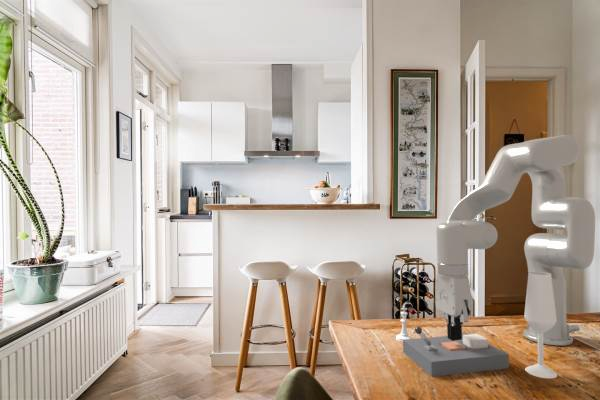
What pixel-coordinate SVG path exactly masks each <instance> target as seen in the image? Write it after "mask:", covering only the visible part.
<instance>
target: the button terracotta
mask: <svg viewBox="0 0 600 400" xmlns="http://www.w3.org/2000/svg"><path fill="white" fill-rule="evenodd" d="M441 346H443V347H444V348H446V349H447V350H449V351H458V350H466V347H464V346H462V345H461V344H459V343H458V342H456V341H455V342H443V343H441Z"/></svg>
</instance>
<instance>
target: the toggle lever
mask: <svg viewBox="0 0 600 400" xmlns="http://www.w3.org/2000/svg"><path fill="white" fill-rule="evenodd" d="M414 331H415V334H417V335H418V336H419V337H420V338H422V339H423V341H424V342H425V343H426V344H427V346H431V342H430V341H429V339H428V338H429V337H427V336H426V334H425V333H424V332H423V330H422V327H420V326H416V327H415V328H414Z"/></svg>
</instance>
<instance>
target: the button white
mask: <svg viewBox="0 0 600 400" xmlns="http://www.w3.org/2000/svg"><path fill="white" fill-rule="evenodd" d="M462 335H463V344H465V345H466V346H468V347H470V348H472V349H479V348H488V343H489V339H488V338H486V337H484V336H483V335H480V334H479V333H468V335H465V334H462Z"/></svg>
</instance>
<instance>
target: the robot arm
mask: <svg viewBox="0 0 600 400" xmlns="http://www.w3.org/2000/svg"><path fill="white" fill-rule="evenodd" d="M580 154H581V145H580V142H579V141H578V139H577V138H576V137H574V136H572V135H570V134H561V135H556V136H548V137H540V138H535V139H531V140H530V139H529V140H526V141H523V142H518V143H517V142H516V143H512V144H506V145H504V146H502V147H501V148H500V149H499V150H498V151H497V153H496V155H495V157H494V159H493V160H492V162H491V164H490V166H489V169H488V170H487V172H486V174H485V176H484V177H483V179H482V181H481V183H480V184H479V185H478V186H477V187H476V188H475V189H473V190H471V192H469V193H468V194H467V195H466V196H464V197H463V198H461V200H460V201H458V203H456V205H455V206H454V208H452V211H451V212H450V214H449V216H448V218H447V220H446V222H442V223H439V224H437V226H436V254H437V255H436V259H437V273H436V277H435V278H436V280H435V293H434V294H435V297H434V298H435V299H434V303H435V307H436V308H437V310H439V311H441V312H442V313H443V314H444V316H445V322H446V324H447V325H446V327H447V329H446V331H447V336H448V339H450V340H452V341H455V340H461V339H462V335H463V330H462V329H463V327H462V326H464V323H469V321H470V320H469V316H471V314H472V308H473V307H472V306H473V305H472V304H473V303H472V293H471V285H470V280H469V255H468V254H469V253H468V251H469V250H471V249H472V250H486V249H490V248H492V247H493V246H494V245H495V244H496V242H497V240H498V238H499V237H498V236H499V235H498V231H497V228H496V227H495V226H494V225H493V224H492V223H489V222H488V221H483V220H475V218H476V217H477V216H479V214H481V213H483V212H485V211H487V210H489V209H493V208H494V207H497V206H499V205H501V204H504V203H507V202H508V201H509V200H510V199H511V198H512V197H513V194H514V193H515V190H516V189H517V186H518V184H519V183H520V181H521V178H522V177H523V175H524V174H528V176H529V177H530V180H531V186H532V191H531V192H532V193H531V194H532V196H531V221H532V223H533V224H534V225H535V226H536V227H538V228H541V229H548V230H560V231H561V230H563V231H567V233H566V234H560V233H550V232H548V233H547V232H543V233H542V232H538V233H534V234H532V235H531V234H530V235H529V236H528V237H527V238H526V239H525V242H524V245H523V250H524V256H525V259H526V265H527V272H545V273H550V274H551V277H552V285H553V293H554V302H555V310H556V318H557V322H556V324H555V325H554V326H553V327H552V328H551V329H549V330H548V331H547V332H544V333H543V345H550V346H569V345H572V344H573V342H574V338H573V337H572V335H570V334H571V333H572V332H573V333H574V332H579V331H580V330H581V329H580V326H579V325H578V324H571V325H570V324H568V323H567V282H566V277H565V276H564V273H563V272H562V270H561V268H563V269H568V270H569V269H570V270H575V271H576V270H577V271H578V270H579V271H581V270H586V269H588V268H589V267H591V265H592V262H593V260H594V257H595V256H594V255H595V241H596V239H595V238H596V213H595V208H594V207H593V204H592V203H591V202H590V201H589V200H588V199H586V198H583V197H580V196H579V197H578V196H566V195H567V194H566V193H567V192H566V190H567V188H566V185H567V184H566V179H565V177H564V175H563V174H562V172H561V171H560V170H559V169H560V168H564V167H567V166H571V165H572V164H574V163H575V162H576V161H577V160H578V159H579V157H580ZM522 333H523V336H524V337H525V338H526V339H528V340H530V341H532V342H536V343H538V332H537V331H535V330H534V329H533V328H532V327H531V326H530V325H529V324H528V328H525V329H523V332H522Z"/></svg>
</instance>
